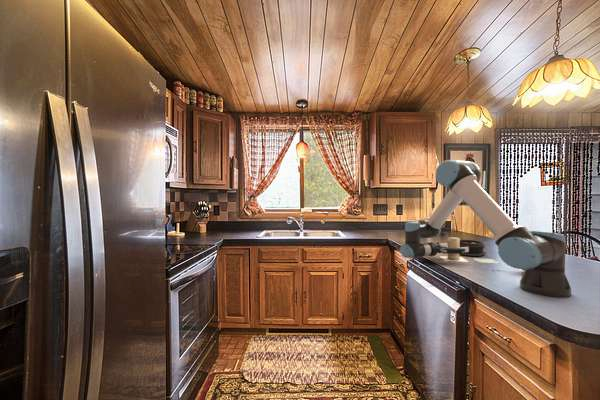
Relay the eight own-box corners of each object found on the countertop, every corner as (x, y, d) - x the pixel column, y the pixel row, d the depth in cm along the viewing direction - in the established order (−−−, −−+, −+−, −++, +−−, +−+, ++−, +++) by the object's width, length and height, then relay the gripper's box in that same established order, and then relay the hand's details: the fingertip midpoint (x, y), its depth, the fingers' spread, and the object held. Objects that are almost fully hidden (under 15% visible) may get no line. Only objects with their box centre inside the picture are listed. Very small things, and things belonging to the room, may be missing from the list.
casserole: (489, 260, 161) (489, 245, 160) (452, 257, 169) (452, 243, 169) (484, 252, 183) (484, 239, 182) (451, 249, 191) (451, 237, 191)
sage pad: (500, 265, 149) (500, 263, 149) (479, 264, 151) (479, 262, 151) (492, 260, 159) (492, 259, 159) (472, 260, 161) (472, 258, 161)
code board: (468, 263, 153) (468, 261, 153) (444, 262, 156) (444, 260, 156) (461, 258, 164) (461, 257, 164) (439, 257, 167) (439, 256, 167)
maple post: (460, 260, 156) (461, 238, 156) (449, 259, 158) (449, 238, 158) (457, 257, 162) (457, 237, 162) (446, 257, 164) (446, 237, 163)
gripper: (412, 251, 167) (441, 249, 173) (444, 261, 143) (477, 258, 149) (412, 239, 167) (441, 237, 173) (444, 246, 143) (477, 244, 149)
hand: (458, 247), depth 161 cm, fingers open, 13 cm apart
